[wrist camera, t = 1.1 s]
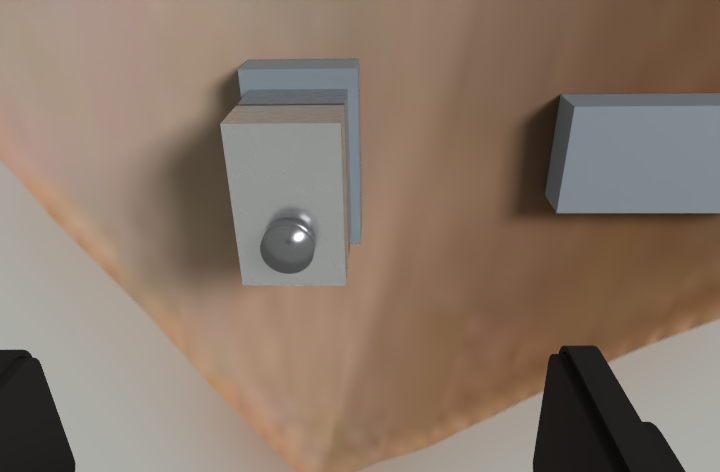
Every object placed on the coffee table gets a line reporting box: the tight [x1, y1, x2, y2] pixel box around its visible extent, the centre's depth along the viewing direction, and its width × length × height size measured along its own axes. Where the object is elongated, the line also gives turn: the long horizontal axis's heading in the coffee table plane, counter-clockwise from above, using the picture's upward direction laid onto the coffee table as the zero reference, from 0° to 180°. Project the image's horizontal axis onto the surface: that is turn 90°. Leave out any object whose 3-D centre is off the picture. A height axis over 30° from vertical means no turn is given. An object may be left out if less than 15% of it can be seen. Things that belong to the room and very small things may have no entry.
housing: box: [220, 89, 351, 286], centre depth 27 cm, size 8×5×7 cm, turn 1°
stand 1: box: [238, 59, 362, 244], centre depth 31 cm, size 10×6×2 cm, turn 1°
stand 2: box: [545, 93, 720, 213], centre depth 30 cm, size 6×12×2 cm, turn 91°
